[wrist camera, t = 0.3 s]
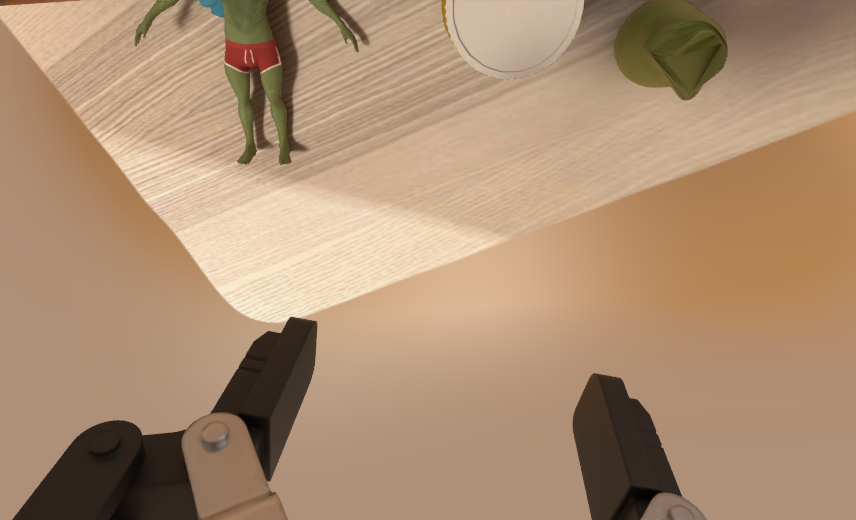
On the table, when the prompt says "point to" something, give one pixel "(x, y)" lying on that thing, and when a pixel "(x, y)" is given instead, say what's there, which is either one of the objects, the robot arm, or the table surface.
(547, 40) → the bottle
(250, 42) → the figurine
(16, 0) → the orange canister with lid
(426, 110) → the table surface
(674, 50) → the pear
